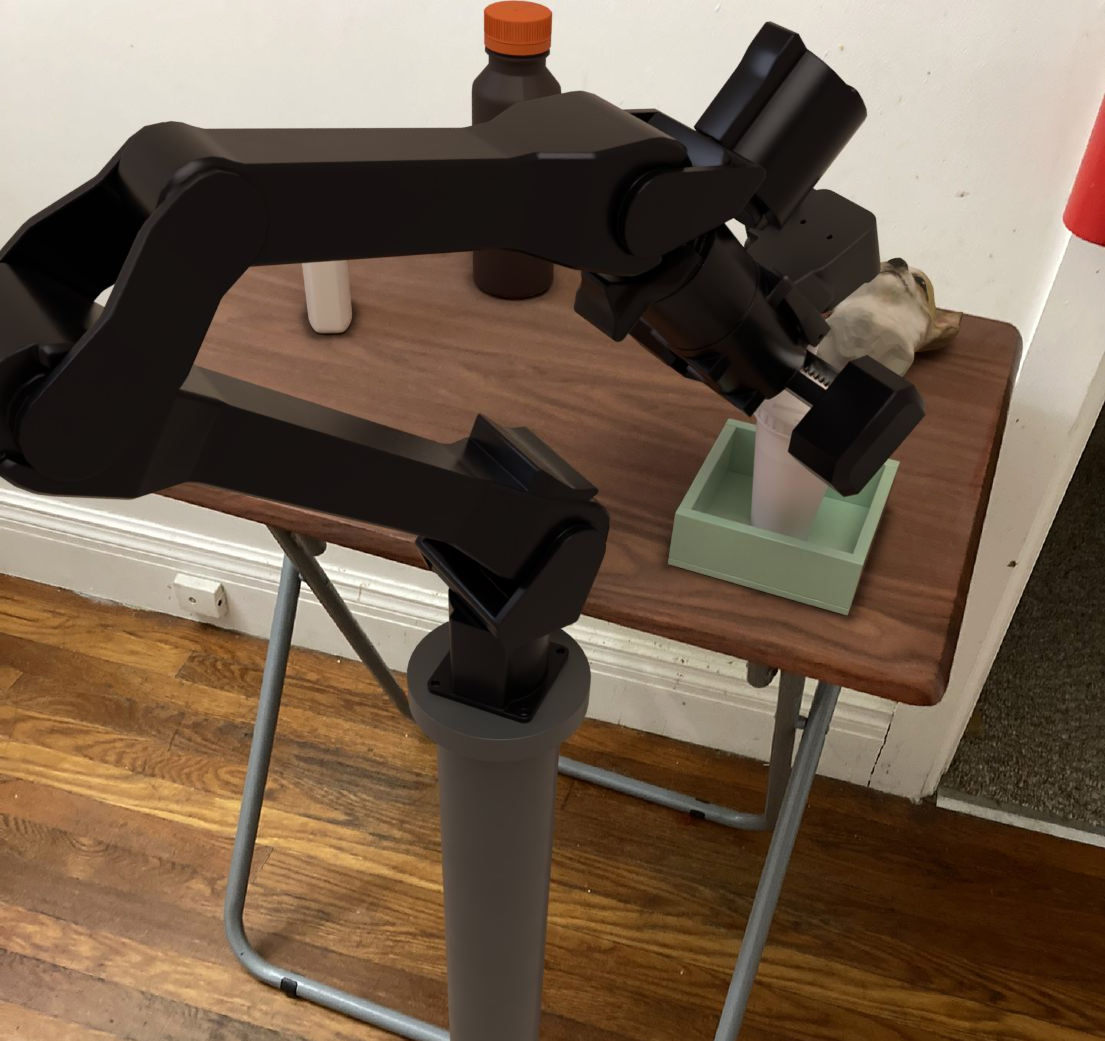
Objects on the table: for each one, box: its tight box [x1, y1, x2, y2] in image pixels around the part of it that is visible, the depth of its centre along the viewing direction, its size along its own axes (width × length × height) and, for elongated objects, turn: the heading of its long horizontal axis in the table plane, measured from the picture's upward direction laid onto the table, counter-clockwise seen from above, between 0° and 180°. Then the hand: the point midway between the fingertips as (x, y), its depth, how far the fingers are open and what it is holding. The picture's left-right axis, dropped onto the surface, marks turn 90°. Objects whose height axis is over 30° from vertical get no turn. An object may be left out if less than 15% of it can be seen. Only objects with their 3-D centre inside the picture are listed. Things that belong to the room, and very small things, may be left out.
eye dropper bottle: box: [301, 260, 353, 334], centre depth 88 cm, size 4×6×12 cm
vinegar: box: [471, 0, 562, 299], centre depth 90 cm, size 7×7×20 cm
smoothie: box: [750, 345, 828, 541], centre depth 70 cm, size 6×6×14 cm
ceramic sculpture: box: [816, 257, 964, 378], centre depth 89 cm, size 11×9×15 cm
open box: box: [667, 418, 901, 616], centre depth 74 cm, size 12×12×4 cm
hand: (820, 426), depth 71 cm, fingers open, 9 cm apart
